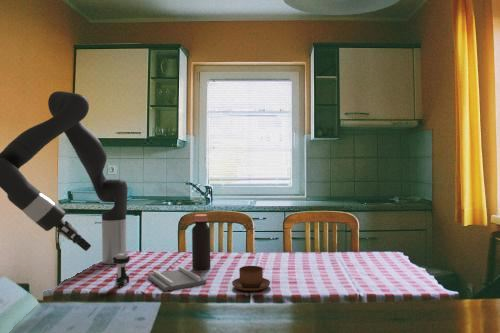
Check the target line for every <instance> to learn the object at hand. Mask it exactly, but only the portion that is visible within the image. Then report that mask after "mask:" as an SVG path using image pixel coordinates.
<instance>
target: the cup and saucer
mask: <svg viewBox="0 0 500 333" xmlns="http://www.w3.org/2000/svg"><path fill="white" fill-rule="evenodd" d="M238 269H239V270H238V271H239V277H237V278H235V279H233V280H232V282H231V284H232V287H233V288H235V289H237V290H240V291H244V292H256V291H257V292H258V291H262V290H265V289H267V288H268V287H269V286H270V285H271V281H270V279H267V278H266V277H265V278H264V277H263V274H264V272H263V267H261V266H258V265H245V266H241V267H240V268H238Z"/></svg>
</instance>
